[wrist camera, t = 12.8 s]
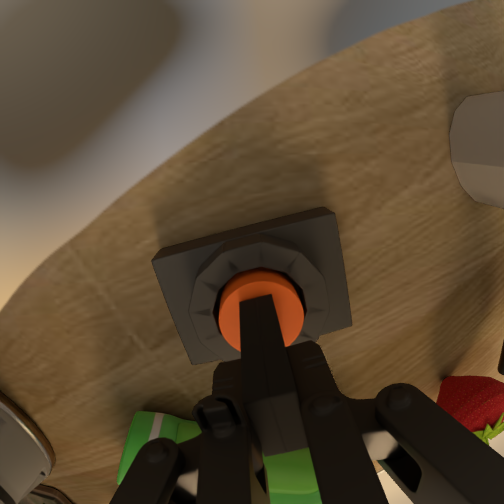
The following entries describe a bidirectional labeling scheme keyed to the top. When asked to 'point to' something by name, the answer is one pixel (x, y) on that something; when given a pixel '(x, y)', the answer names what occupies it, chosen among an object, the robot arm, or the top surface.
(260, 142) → the top surface
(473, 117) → the cup
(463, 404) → the strawberry
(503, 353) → the lever
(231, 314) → the button
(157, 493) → the robot arm
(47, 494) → the tank diorama
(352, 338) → the top surface
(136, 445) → the speaker
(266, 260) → the control block
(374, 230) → the top surface
